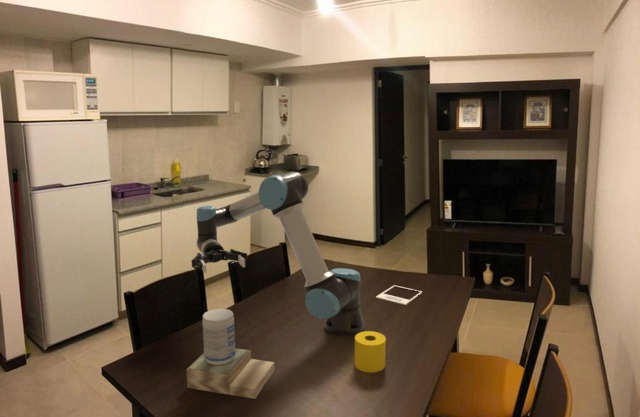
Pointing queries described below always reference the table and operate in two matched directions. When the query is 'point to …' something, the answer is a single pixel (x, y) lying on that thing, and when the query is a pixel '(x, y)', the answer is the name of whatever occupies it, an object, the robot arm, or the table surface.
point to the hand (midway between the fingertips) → (224, 266)
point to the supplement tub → (218, 336)
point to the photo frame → (396, 299)
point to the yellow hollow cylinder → (370, 351)
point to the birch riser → (231, 375)
